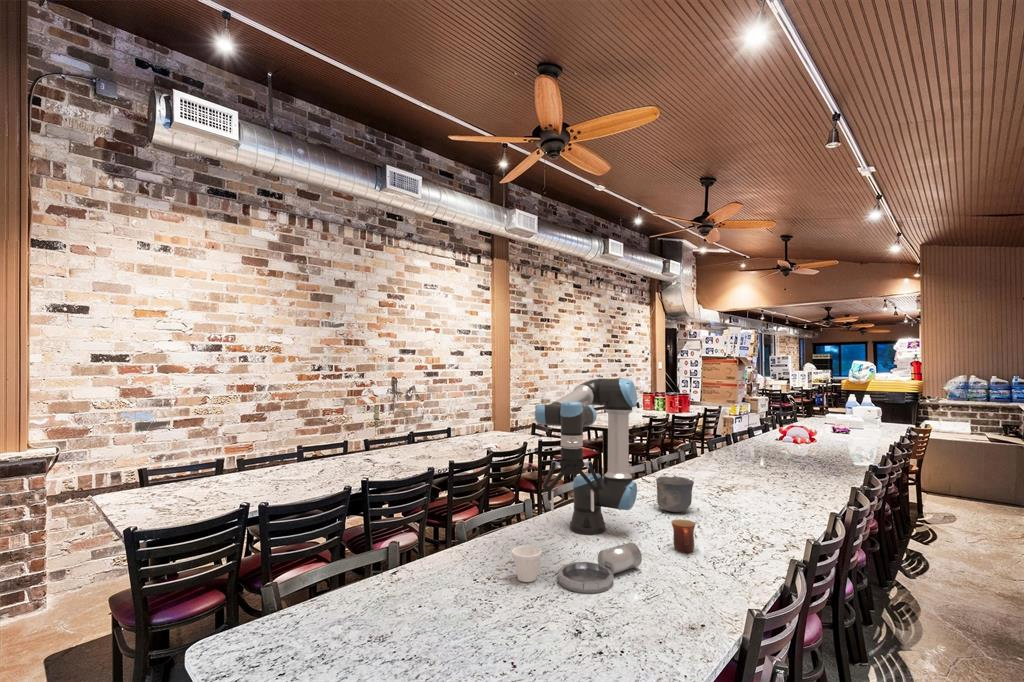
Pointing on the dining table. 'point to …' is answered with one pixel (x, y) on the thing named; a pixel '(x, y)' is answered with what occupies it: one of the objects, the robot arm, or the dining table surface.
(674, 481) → the bowl
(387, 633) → the dining table surface
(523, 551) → the cup
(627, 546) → the grey saucepan
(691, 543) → the mug
